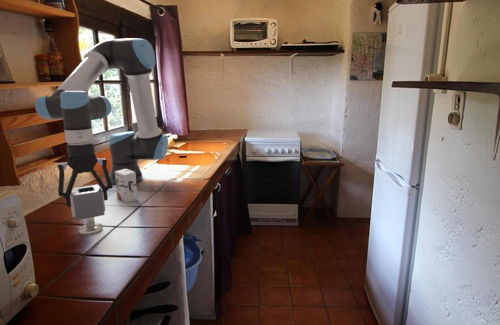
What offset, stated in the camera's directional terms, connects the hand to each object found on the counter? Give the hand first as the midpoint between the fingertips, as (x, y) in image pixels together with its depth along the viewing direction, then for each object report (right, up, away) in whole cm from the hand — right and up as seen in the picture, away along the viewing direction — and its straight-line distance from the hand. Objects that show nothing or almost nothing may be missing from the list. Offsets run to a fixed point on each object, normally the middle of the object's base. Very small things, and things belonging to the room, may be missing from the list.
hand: (89, 212), depth 109 cm
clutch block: (0, 0, 0) cm, 0 cm away
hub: (0, -6, +1) cm, 6 cm away
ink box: (+1, +1, +30) cm, 30 cm away
